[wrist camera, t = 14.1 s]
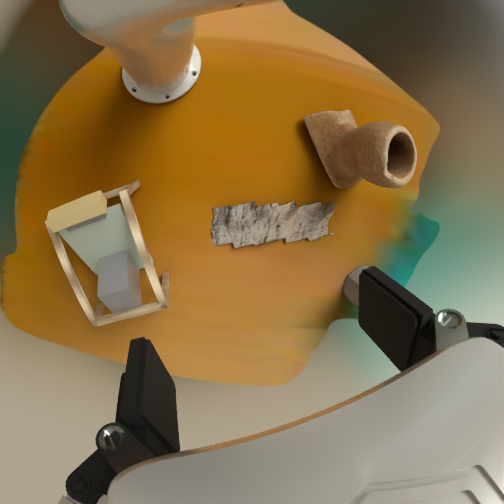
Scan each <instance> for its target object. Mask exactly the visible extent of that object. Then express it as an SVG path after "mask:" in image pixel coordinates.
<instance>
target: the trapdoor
mask: <svg viewBox="0 0 504 504" xmlns="http://www.w3.org/2000/svg"><path fill="white" fill-rule="evenodd" d="M46 224H47V225H48V226H49V227H50V229H51V230H52V231H53V232H54V233H55V232H57V231H58V232H59V234H60V235H61V236H62V237H63V238H64V240H65V241H66V242H67V243H68V244H69V245H70V247H71V248H72V249H73V250H74V251H75V252H76V253H77V255H78V256H79V257H80V258H81V259H82V260H83V261H84V262H85V263H86V264H87V265H88V267H89V268H90V269H91V270H92V271H93V272H94V273H95V274H96V275H97V276H98V266H99V258H102V257H105V256H108V255H112V254H115V253H118V252H121V251H124V250H128V252H129V253H130V255H131V257H132V258H133V260H134V262H135V263H136V265H137V266H138V268H139V269H141V268H145V267H144V265H143V262H142V260H141V257H140V254H139V252H138V249H137V246H136V243H135V240H134V238H133V235H132V232H131V229H130V226H129V223H128V220H127V217H126V214H125V211H124V209H123V207H122V206H121V204H120V203H119V204H117V205H114V206H111V207H108V208H107V200H106V198H105V196H104V195H103V193H102V191H101V190H99V191H96V192H94V193H91V194H88V195H86V196H83V197H81V198H78V199H76V200H74V201H71V202H69V203H66V204H64V205H62V206H59V207H57V208H55V209H53V210H50V211H49V212H48V216H47V221H46ZM149 256H150V254H149ZM150 259H151V261H152V264H153V259H152V257H151V256H150ZM153 265H154V264H153Z"/></svg>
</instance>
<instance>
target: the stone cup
mask: <svg viewBox="0 0 504 504" xmlns="http://www.w3.org/2000/svg"><path fill="white" fill-rule="evenodd" d="M304 121H305V124H306V126H307V129H308V131H309V134H310V136H311V138H312V141H313V143H314V145H315V147H316V150H317V152H318V155H319V157H320V159H321V161H322V164H323V166H324V168H325V170H326V172H327V174H328V176H329V178H330V180H331V181H332V183H333V184H334V185H335V187H337V188H341V189H343V188H347V187H350V186H353V185H355V184H356V183H358V182H359V181H361V180H362V179H363V178H364V179H365V180H367V181H369V182H371V183H373V184H375V185H378V186H382V187H387V188H400V187H402V186H404V185H405V184H406V183H408V182H409V180H410V179H411V177H412V176H413V174H414V171H415V167H416V162H417V152H416V147H415V143H414V141H413V138H412V136H411V135H410V133H409V132H408V131H407V129H406V128H404V127H403V126H401V125H398V124H395V123H391V122H385V121H380V122H374V123H371V124H367V125H364V126H361V127H358V126H357V124H356V122H355V120H354V118H353V116H352V114H351V111H350V110H343V111H323V112H318V113H314V114H310V115H308V116H305V117H304Z"/></svg>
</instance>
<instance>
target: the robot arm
mask: <svg viewBox="0 0 504 504" xmlns="http://www.w3.org/2000/svg"><path fill="white" fill-rule="evenodd" d="M59 1H60V6H61V9H62V12H63V14H64V15H65V17H66V19H67V20H68V22H69V23H70V24H71V25H72V26H73V27H74V28H75V29H76V30H77V31H78V32H79V33H80V34H81V35H83V36H84V37H86V38H87V39H89V40H91V41H93V42H95V43H97V44H100V45H102V46H105V47H107V48H108V49H109V51H110V52H111V53H112V54H113V55H114V57H115V58H116V59H117V61H118V62H119V63H120V64H121V66H122V79H123V82H124V85H125V87H126V88H127V90H128V91H129V92H130V93H131V94H132V95H133V96H134V97H135V98H137V99H139V100H141V101H144V102H147V103H154V104H158V103H166V102H170V101H173V100H175V99H178V98H179V97H181V96H183V95H184V94H185V93H187V92H188V91H189V90H190V89H191V88H192V86H193V85H194V84H195V82H196V81H197V79H198V77H199V74H200V70H201V57H200V53H199V51H198V49H197V47H196V46H195V45H194V39H195V32H196V17H197V16H199V15H203V14H208V13H213V12H218V11H223V10H229V9H235V8H241V7H248V6H255V5H262V4H269V3H274V2H278V1H281V0H59ZM192 74H196V75H195V76H193V75H192ZM135 89H136V92H134V90H135ZM166 96H169V98H168V99H167V98H166ZM358 322H359V325H360V327H361V328H362V329H363V330H364V331H365V333H366V334H367V335H368V336H369V337H370V338H371V339H372V340H373V341H374V342H375V344H376V345H377V346H378V347H379V348H380V349H381V350H382V351H383V352H384V354H385V355H386V356H387V357H388V358H389V359H390V360H391V361H392V362H393V364H394V365H395V366H396V367H397V368H398V369H399V370H400V371H401V373H399V374H397V375H395V376H393V377H392V378H390V379H388V380H386V381H384V382H383V383H381V384H379V385H377V386H375V387H373V388H371V389H369V390H367V391H365V392H363V393H361V394H359V395H357V396H354V397H353V398H350V399H348V400H346V401H344V402H341V403H339V404H337V405H334V406H332V407H330V408H327V409H325V410H323V411H320V412H318V413H315V414H313V415H310V416H308V417H305V418H302V419H300V420H297V421H294V422H291V423H288V424H285V425H282V426H279V427H277V428H273V429H270V430H267V431H264V432H260V433H257V434H254V435H251V436H247V437H243V438H239V439H236V440H231V441H227V442H223V443H219V444H215V445H210V446H206V447H201V448H196V449H192V450H186V451H181V452H179V451H180V443H179V432H178V420H177V409H176V408H177V407H176V389H175V384H174V382H173V380H172V378H171V376H170V375H169V373H168V371H167V369H166V368H165V366H164V364H163V362H162V361H161V359H160V357H159V355H158V354H157V352H156V350H155V348H154V346H153V344H152V343H151V341H150V340H149V339H148V340H146V339H145V338H144V337H141V338H137V339H133V340H131V342H130V347H129V353H128V359H127V365H126V372H125V373H123V374H122V376H121V381H120V388H119V395H118V403H117V412H116V420H115V422H114V423H113V422H112V423H109V424H106V425H104V426H103V427H102V428H101V429H100V430H99V431H98V433H97V435H96V439H95V440H96V446H97V448H98V449H97V450H96V451H95V452H94V453H93V454H92V455H91V456H90V457H88V458H87V459H86V460H85V461H84V462H83V463H82V464H81V465H80V466H79V467H77V469H76V470H74V471H73V472H72V473H71V474H70V475H69V476H68V478H67V480H66V491H67V493H68V494H67V496H66V497H65V496H62V498H61V499H60V501H59V503H58V504H504V327H503V326H501V325H498V324H488V323H487V324H486V323H471V322H466V320H465V318H464V316H463V315H462V314H461V313H460V312H458V311H456V310H454V309H443V310H440V311H439V312H437V314H436V315H435V314H434V313H433V309H432V308H430V307H429V306H428V305H426V304H425V303H424V302H422V301H421V300H420V299H418V298H417V297H416V296H415V295H413V294H412V293H410V292H409V291H408V290H407V289H405V288H404V287H403V286H401V285H400V284H399V283H397V282H396V281H395V280H393V279H392V278H390V277H389V276H388V275H386V274H385V273H384V272H382V271H381V270H379V269H378V268H377V267H375V266H371V267H369V268H366V269H363V270H362V272H361V274H360V275H359V316H358Z"/></svg>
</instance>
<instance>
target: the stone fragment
mask: <svg viewBox="0 0 504 504" xmlns="http://www.w3.org/2000/svg"><path fill="white" fill-rule="evenodd" d="M335 204H336V202H335V203H330V204H323V205H322V204H321V202H318V203H314V204H310V205H303V206H300V207H296V202H295V201H292V202H290V203H288V204H285V205H281V206H278V203H273V204H267V205H263V206H258V207H256V203H255V202H251V203H247V204H242V205H238V206H235V205H234V206H227V207H220V208H215V209H213V208H212V210H213V217H214V218H213V220H212V229H211V232H212V237H213V238H212V242H214V245H215V246H218V245H223V244H228V243H233V245H234V247H235V248H238V247H242V246H246V245H250V244H254V245H259V244H264V243H268V242H272V241H275V240H280V239H283V238H285V239H286V243H289V242H293V241H297V240H301V239H305V238H308V239H309V241H311V240H314V239H317V238H321V237H322V236H327V235H331V234H334V232H331V233H329V234H328V232H327V231H328V230H327V229H328V226H329V225H328V221H329V218H330V217H331V215H332V214H333V212H334V205H335Z"/></svg>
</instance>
